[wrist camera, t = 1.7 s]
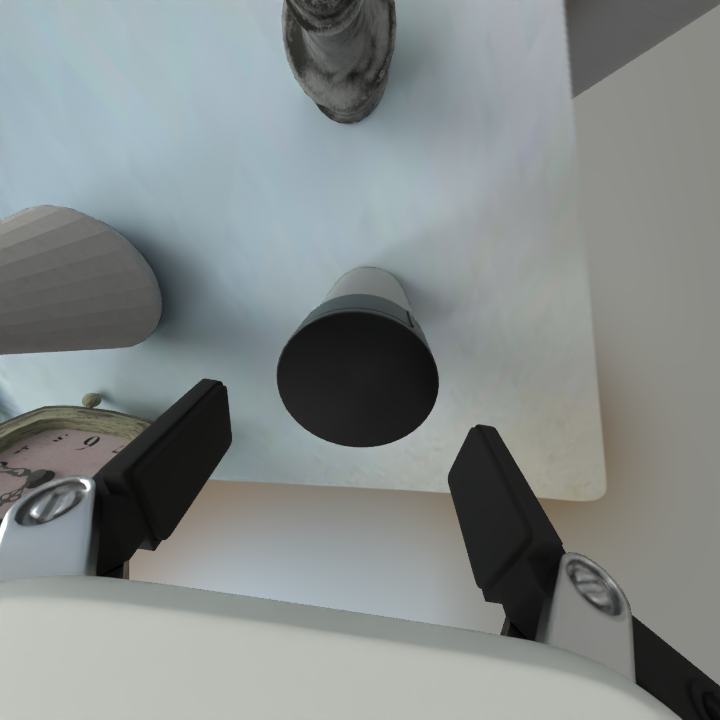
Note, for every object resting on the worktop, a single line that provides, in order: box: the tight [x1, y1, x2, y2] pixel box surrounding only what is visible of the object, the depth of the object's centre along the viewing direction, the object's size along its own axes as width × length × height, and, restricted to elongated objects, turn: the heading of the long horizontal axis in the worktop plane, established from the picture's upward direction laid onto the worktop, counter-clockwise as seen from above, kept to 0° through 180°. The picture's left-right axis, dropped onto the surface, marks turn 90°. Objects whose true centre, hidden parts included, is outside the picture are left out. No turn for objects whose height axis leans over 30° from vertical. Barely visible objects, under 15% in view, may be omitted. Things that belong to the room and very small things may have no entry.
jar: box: [319, 267, 415, 319], centre depth 18 cm, size 7×7×12 cm
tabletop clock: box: [0, 393, 153, 519], centre depth 21 cm, size 14×9×25 cm, turn 79°
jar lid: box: [277, 294, 439, 447], centre depth 13 cm, size 8×8×3 cm
